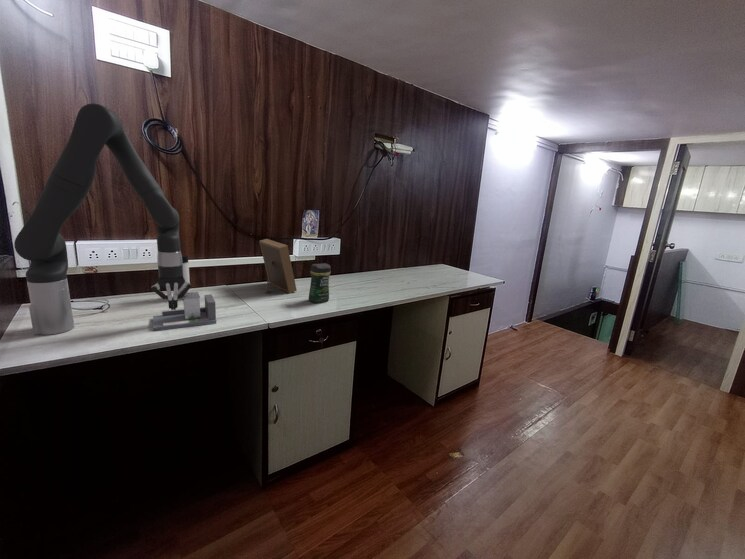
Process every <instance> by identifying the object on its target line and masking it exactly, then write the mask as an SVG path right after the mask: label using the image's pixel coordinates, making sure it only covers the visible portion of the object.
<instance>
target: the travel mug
mask: <svg viewBox="0 0 745 559" xmlns="http://www.w3.org/2000/svg"><path fill="white" fill-rule="evenodd" d="M189 264H190V263H189V256H188V255H182V265H183V277H184V279H185V281H186V282H187V283H190V284H191V282H190V266H189ZM183 289H184V284H183V285H182V287H181V288H180V289H179V290H178V294H179V293H180V292H181V291H182V290H183ZM190 292H191V288H190V289H189V290H188V291H187V293H190ZM177 301H183V298H179V299H178V300H177Z"/></svg>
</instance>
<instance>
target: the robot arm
mask: <svg viewBox="0 0 745 559" xmlns="http://www.w3.org/2000/svg"><path fill="white" fill-rule="evenodd" d="M73 124H74V125H73V127H72V129H71V130H72V131H71V134H70V136H69V139H68V142H67V143H66V145H65V147H64V148H63V150H62V151H61V153H60V155H59V158H58V159H57V161H56V163H55V165H54V167H53V169H52V170H51V171H50V174H49V175H48V178H47V180H46V182H45V185H44V187H43V189H42V192H41V194H40V196H39V198H38V200H37V202H36V204H35V207H34V209H33V211H32V213H31V215H30V216H29V218H28V220H27V221H26V223H25V224H24V225H23V227H22V228H21V229H20V231H19V232H18V234H17V236H16V237H15V239H14V243H13V244H14V245H13V246H14V249H15V251H16V254H18V256H19V257H21V258H22V259H24V260H26V261H30V263H29V264H30V265H29V267H28V269H27V271H26V272H25V278H26V283H27V290H28V295H29V301H30V305H29V306H28V310H29V316H30V320H31V327H32V332H33V335H42V336H43V335H45V336H47V335H56V334H61V333H65V332H68V331H70V330H73V329H74V328H75V324H74V322H75V321H74V316H73V309H72V301H71V296H70V288H69V282H68V276H67V275H68V274H67V273H68V270H69V260H68V258H69V257H68V250H67V244H66V240H65V238H64V236H63V235H62V234H61V233H60V232H61V230H62V227H63V226H64V224H65V223H66V221H67V220H68V219H69V218H70V217H71V216H72V215H73V214H74V213H75V212H76V210H78V208H79V207H80V206H81V205H82V203H83V202H84V201H85V199H86V198H87V196H88V194H89V192H90V190H91V187H92V186H93V183H94V179H95V175H96V168H97V164H98V163H97V162H98V158H99V156H100V153H101V152H102V150H103V149H104V146H106V147H107V148H108V149H109V151H110V152H111V153H112V154H113V156H114V158H115V159H116V161H117V162H118V163H119V164H118V165H119V166H120V167H121V170H122V172H123V174H124V176H125V178H126V180H127V181H128V183H129V185H130V186H131V187H132V188H133V190H134V192H135V193H136V195H137V196H138V198H140V200H141V201H142V203H143V204H144V205H145V207H146V209H147V211H148V213H149V215H150V216H151V218H152V220H153V221H154V222H155V223H156V228H157V237H156V238H157V239H156V244H157V245H156V246H157V248H156V249H157V256H156V257H157V261H156V262H157V270H158V279H157V282H156V283H155V284H153V285H151V290H152V291H153V292H154V293H155V294H157V296H158V297H160V298H161V300H166V301H168V302H167V303H168V308H169V309H170V311H171V310H177V309H178V307H179V306H178V305H179V304H178V301H179V300H178V299H179V298H183V296H184V295H185V294H186V293H187V291H188V290H189V289H190V290H191V287H192V284H191V282H190V283H187V282H186V281H185V279H184V277H183V265H182V256H183V255H182V249H181V239H180V214H179V212H178V210H177V209H175V207H173V206H172V205H171V203H170V202H169V200H168V199H167V198H166V197H165V193H164V191H163V190H162V188H161V186H160V185H159V184H158V182H157V179H155V177H154V175H152V173H151V172H150V170H149V168H148V167H147V166H146V164H145V163H144V162H143V160H142V159H141V157H140V156H139V154H138V153H137V150H136V149H135V148H134V145H133V143H132V142H131V140H130V138H129V136H128V133H127V132H126V129H125V127H124V126H123V123H122V121H121V119H120V117H119V116H118V114H116V113H115V112H114V111H113V110H111V109H110V108H108V107H106V106H104V105H102V104H99V103H86V104H85V105H83V106H82V107H81V108H79V110H78V112H77V115H76V118H75V121H74V123H73ZM183 284H184V289H183V290H182V291H181V292H180V293H179V294H178V290H179V289H180V288H181V287H182V285H183ZM161 288H162V289H163V290H164V291H165V292H166V294H167V295H166V294H165V293H164V292H163V291H162V290H161ZM172 292H173V293H172ZM172 295H173V296H172Z"/></svg>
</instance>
